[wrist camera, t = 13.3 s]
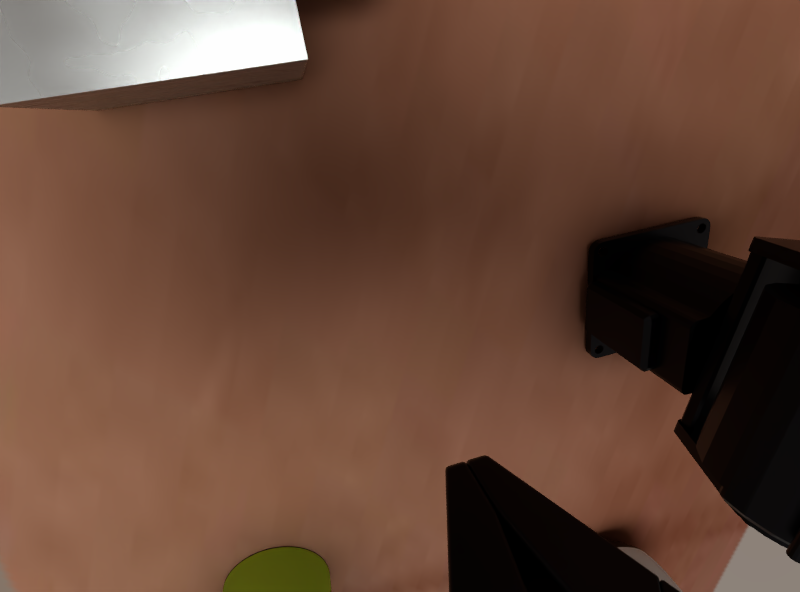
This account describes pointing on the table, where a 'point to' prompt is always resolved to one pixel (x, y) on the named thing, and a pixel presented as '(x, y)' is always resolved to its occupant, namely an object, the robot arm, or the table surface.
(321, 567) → the soap dispenser
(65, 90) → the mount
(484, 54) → the table surface
